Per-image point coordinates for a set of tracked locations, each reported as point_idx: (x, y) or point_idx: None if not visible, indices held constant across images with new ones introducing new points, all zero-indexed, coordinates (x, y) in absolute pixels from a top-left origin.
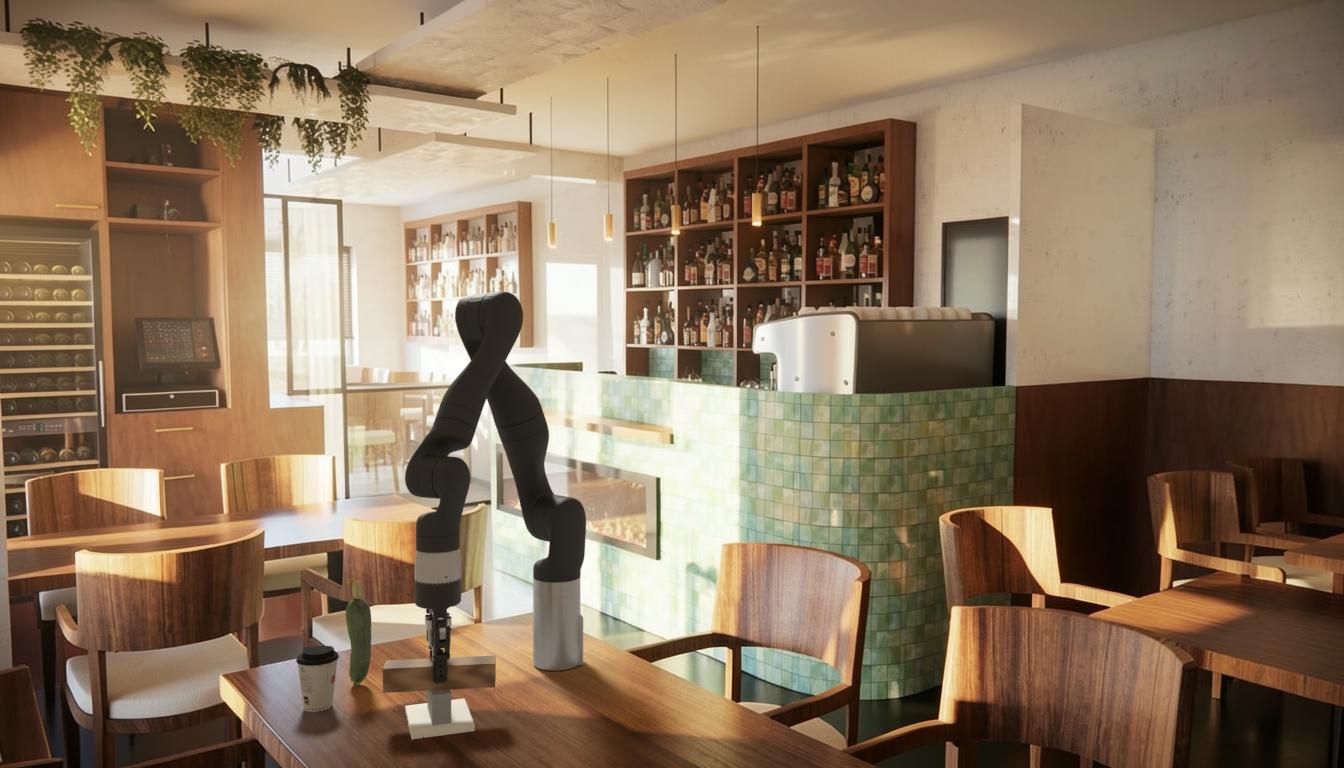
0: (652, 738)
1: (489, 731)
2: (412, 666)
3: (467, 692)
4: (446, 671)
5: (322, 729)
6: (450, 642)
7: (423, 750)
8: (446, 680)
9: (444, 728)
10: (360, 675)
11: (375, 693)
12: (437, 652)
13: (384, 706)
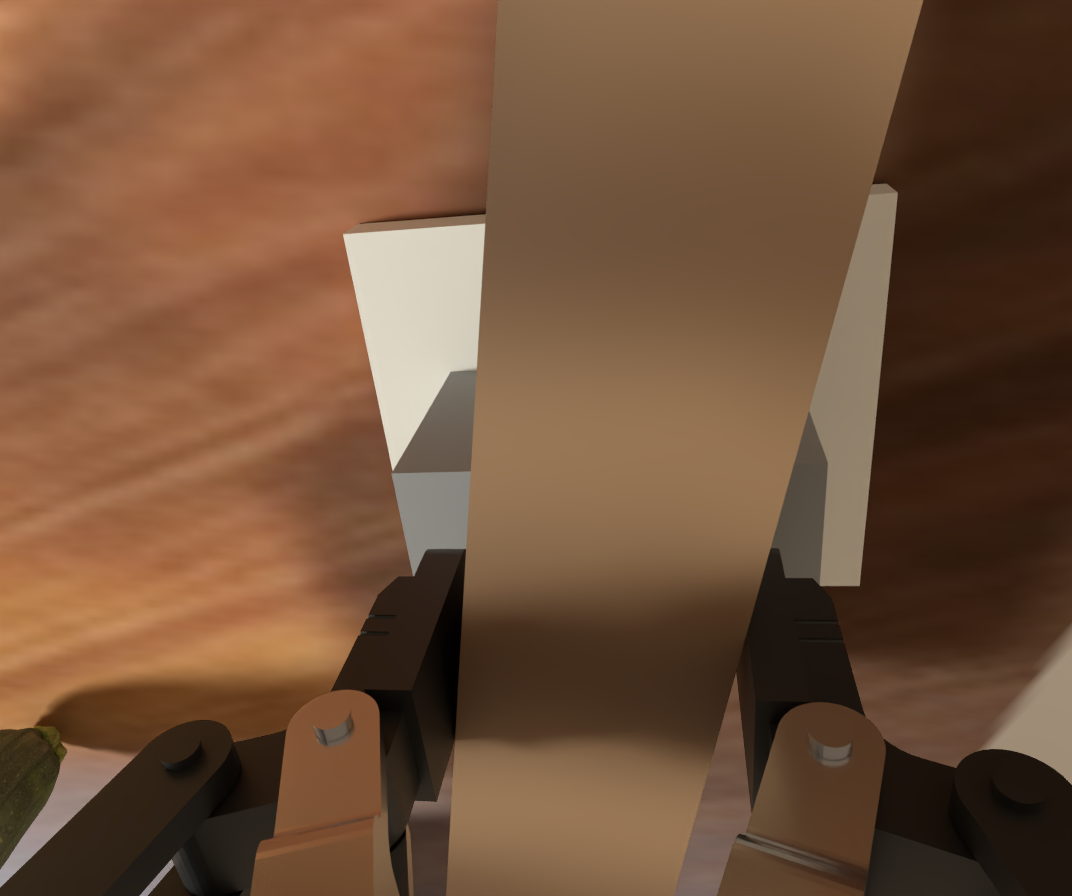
0: None
1: (943, 64)
2: (653, 877)
3: (136, 187)
4: (790, 611)
5: None
6: (862, 888)
7: (1047, 515)
8: (775, 551)
9: (867, 405)
10: (43, 770)
11: (155, 669)
12: (428, 727)
13: (335, 645)
